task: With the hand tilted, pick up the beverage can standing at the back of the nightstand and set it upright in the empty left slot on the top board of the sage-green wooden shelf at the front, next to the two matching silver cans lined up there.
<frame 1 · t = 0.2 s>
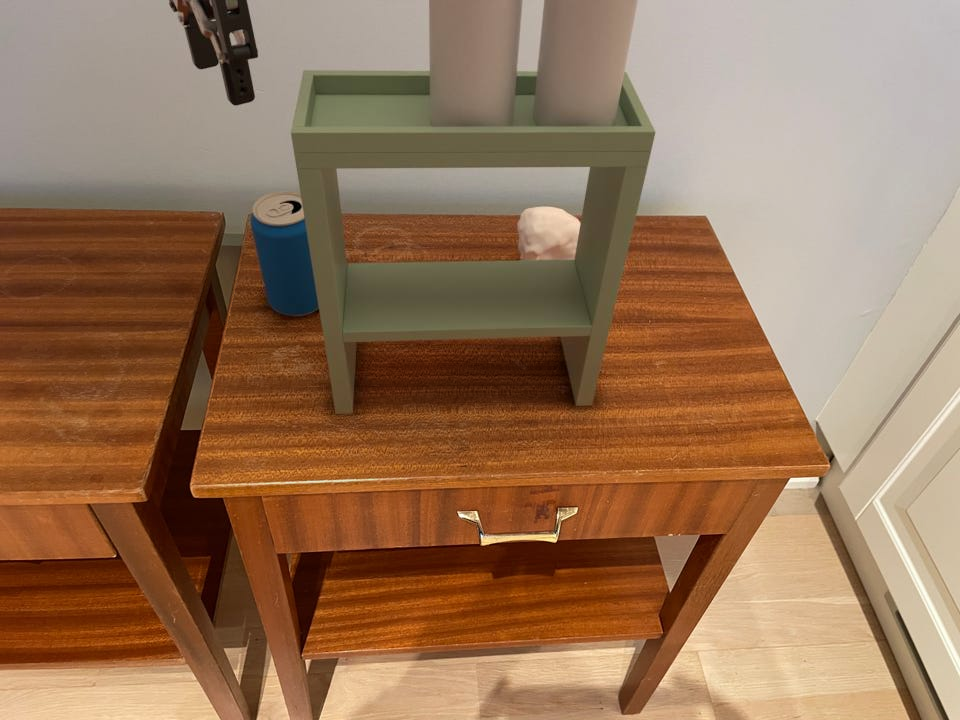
hand: (224, 83, 66), 22 cm above the nightstand, tool pointing down, fingers open, 8 cm apart
shelf stand: (462, 374, 72), on the nightstand
can shelf: (471, 134, 54), resting on shelf stand
pale pink lump: (564, 273, 84), on the nightstand
beverage can: (299, 302, 79), on the nightstand
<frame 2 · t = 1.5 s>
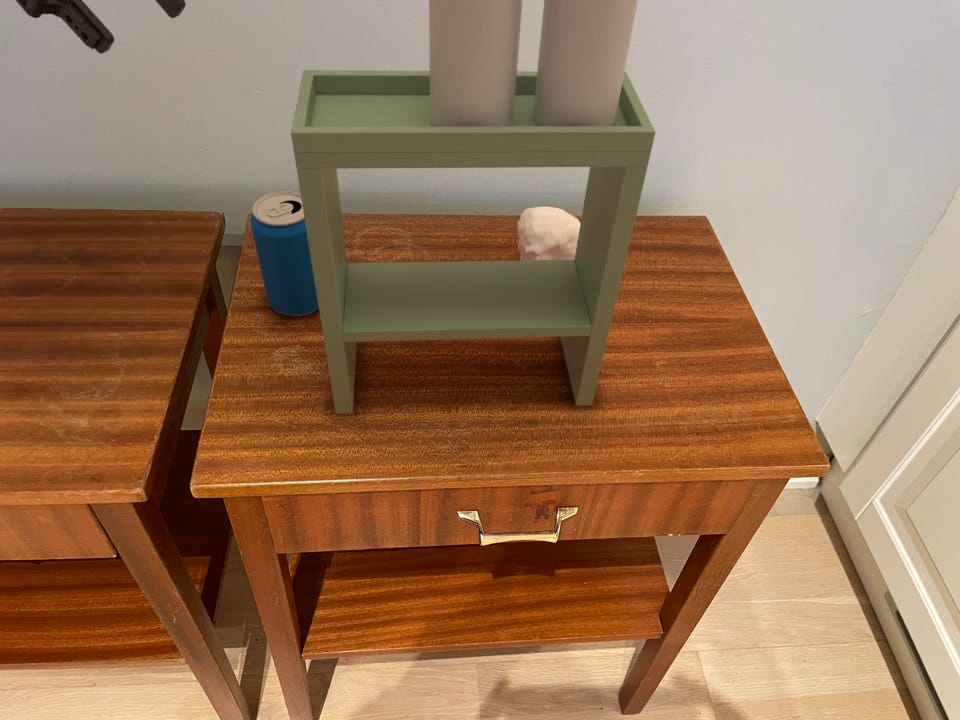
hand: (145, 28, 62), 27 cm above the nightstand, tool tilted 45°, fingers open, 8 cm apart
nothing on the nightstand moved.
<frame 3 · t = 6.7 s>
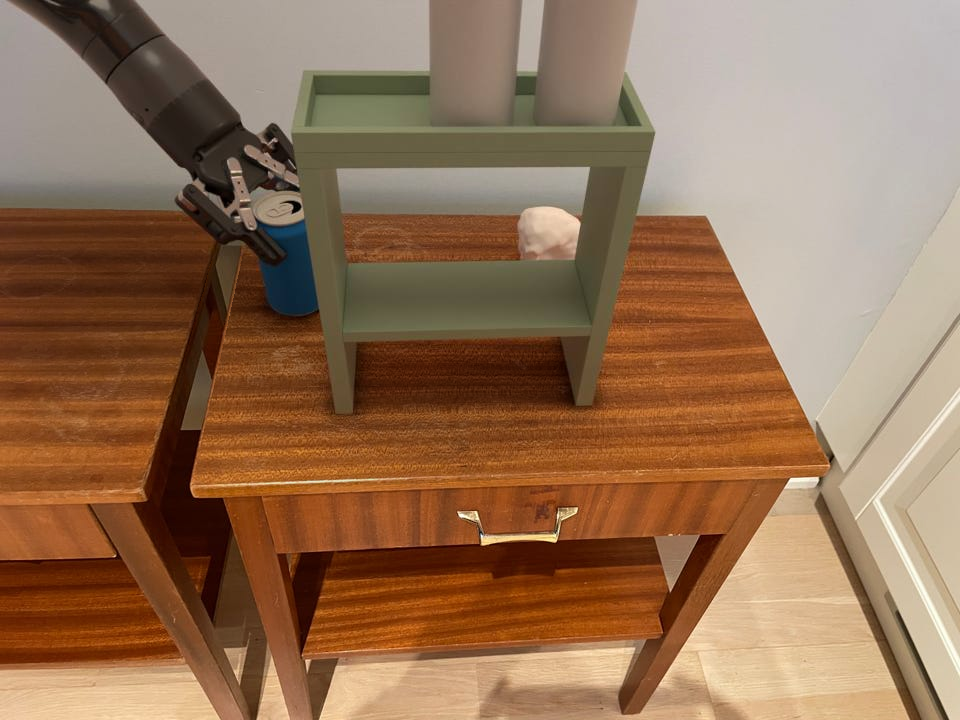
hand: (301, 241, 72), 8 cm above the nightstand, tool tilted 45°, fingers closed on beverage can, 6 cm apart
beverage can: (299, 301, 79), on the nightstand, touching gripper
everything else where it was.
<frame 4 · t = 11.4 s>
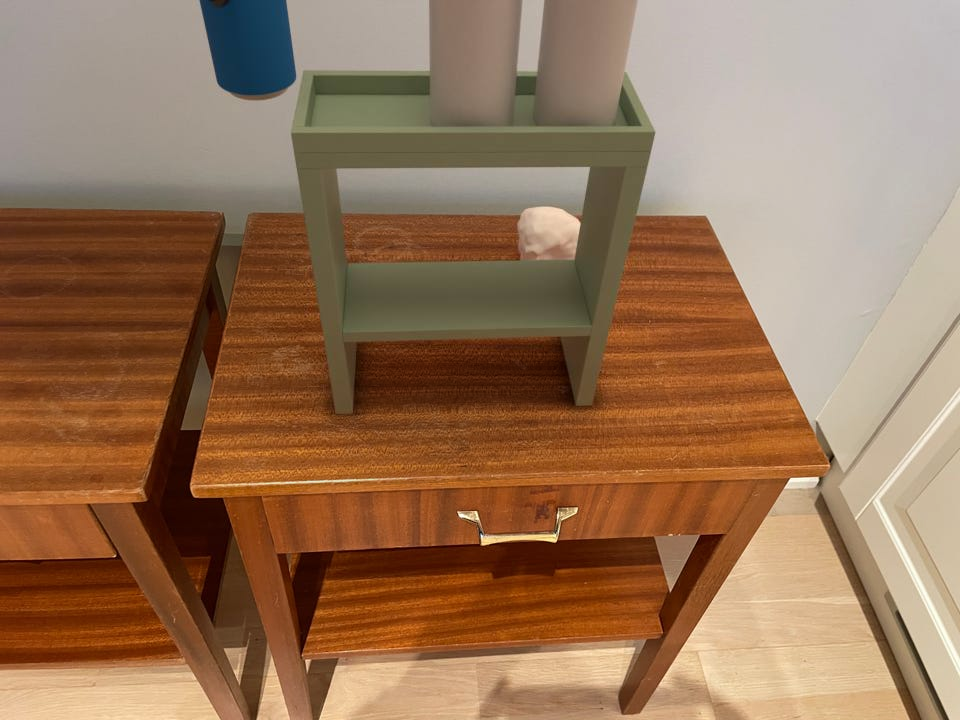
beverage can: (258, 89, 62), point 24 cm above the nightstand, touching gripper
everything else where it was.
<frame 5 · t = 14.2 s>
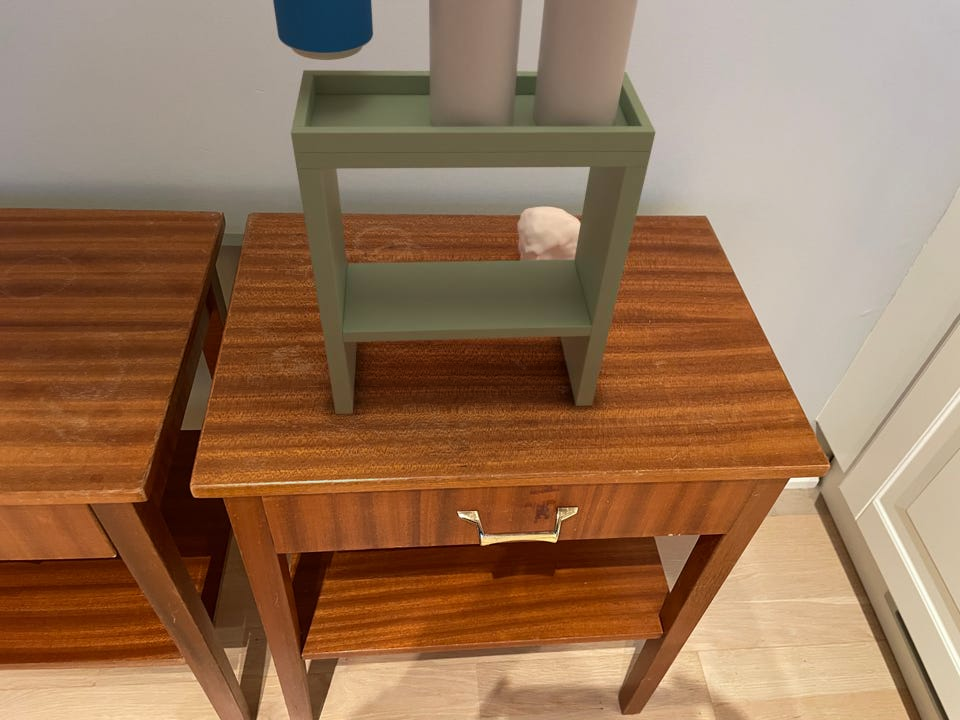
beverage can: (327, 47, 51), point 31 cm above the nightstand, touching gripper
everything else where it was.
when the fingers open (36 cm above the nightstand, at t = 16.5 s): beverage can stays where it is, resting on can shelf.
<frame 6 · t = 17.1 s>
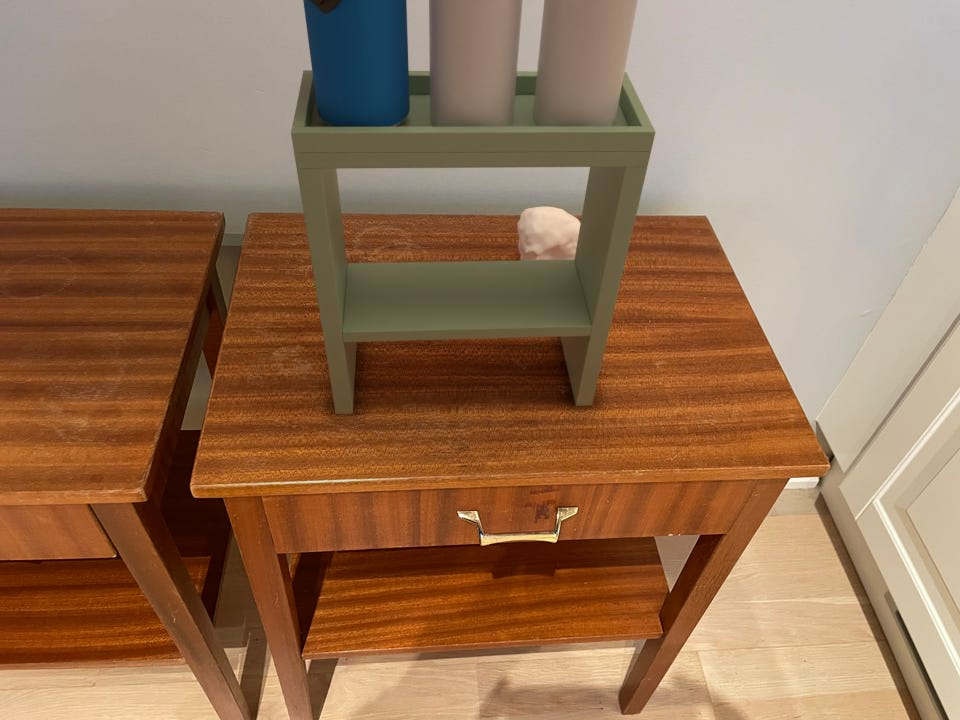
beverage can: (364, 121, 52), point 27 cm above the nightstand, touching can shelf
everything else where it was.
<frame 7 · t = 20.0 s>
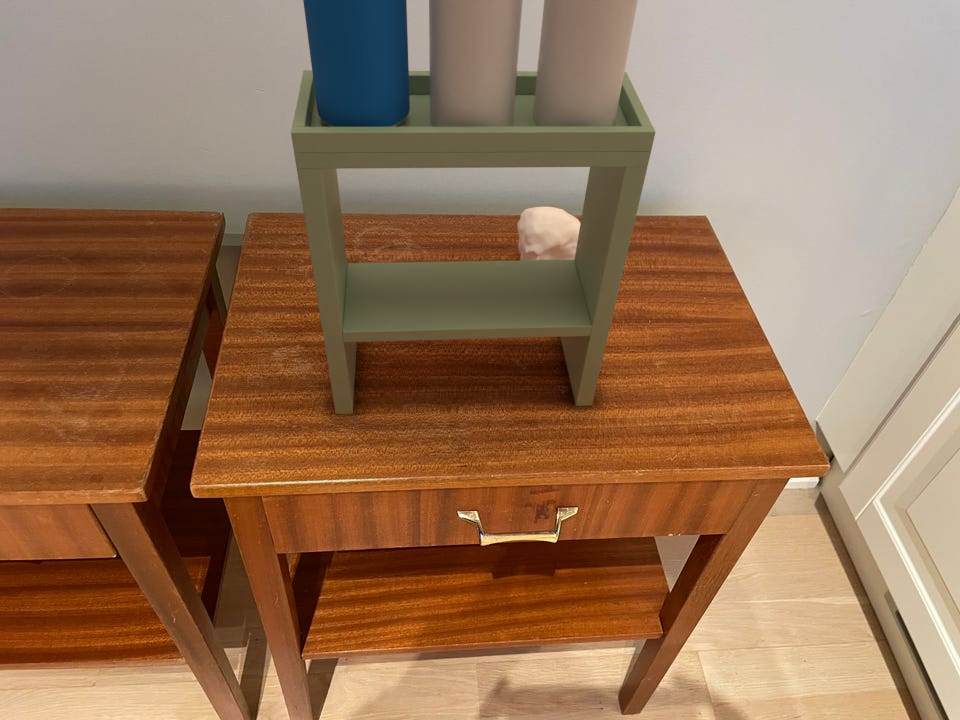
nothing on the nightstand moved.
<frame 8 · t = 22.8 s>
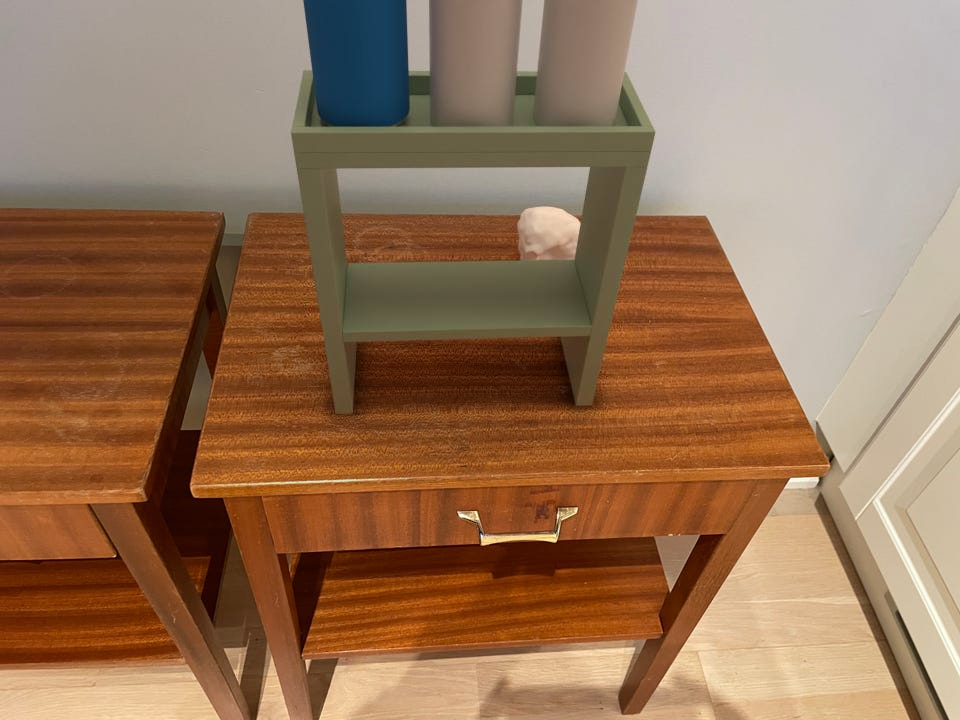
nothing on the nightstand moved.
at the end: beverage can 0.2 cm from the target spot on the can shelf, point 1.0 cm above the can shelf's base; beverage can tilted 0°; the gripper is holding nothing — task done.
